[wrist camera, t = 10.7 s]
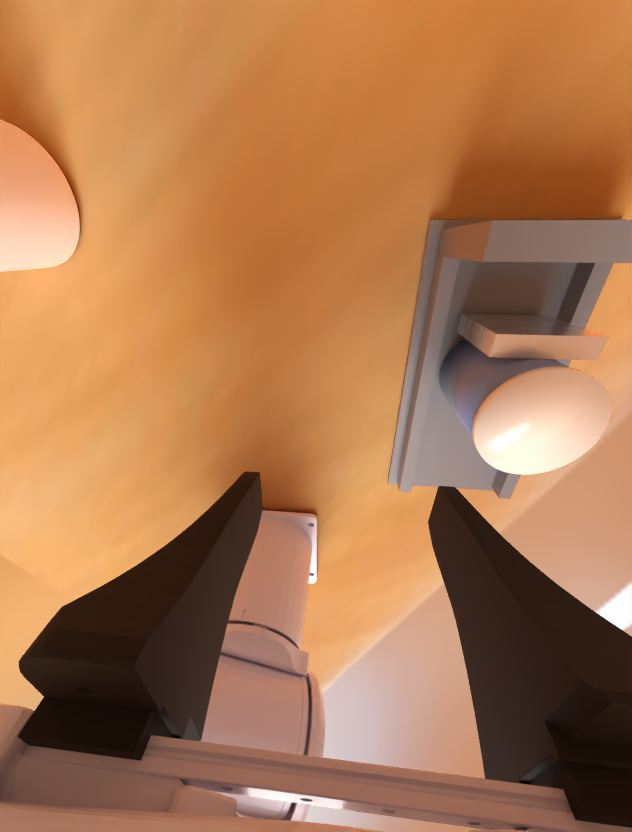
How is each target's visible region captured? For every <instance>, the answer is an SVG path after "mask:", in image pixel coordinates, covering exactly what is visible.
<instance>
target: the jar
mask: <svg viewBox="0 0 632 832" xmlns="http://www.w3.org/2000/svg"><path fill="white" fill-rule="evenodd" d="M439 385H440V389H441V391H442V393H443V395H444V396H445V398H446V399H447V401H448V402H449V404H450V405H451V407H452V408H453V410H454V411H455V413H456V414H457V416H458V417H459V419H460V420H461V422H462V424H463V425H464V427H465V428H466V430H467V431H468V433H469V434H470V436H471V437H472V439H473V442H474V445H475V447H476V449H477V450H478V452H479V453H480V455H481V457H482V458H483V459H484V460H485V461H486V462H487V463H488V464H489V465H491V466H492V467H494V468H496V469H498V470H501V471H503V472H507V473H512V474H522V475H527V474H537V473H543V472H547V471H551V470H554V469H557V468H559V467H562V466H564V465H566V464H568V463H570V462H572V461H574V460H576V459H577V458H579V457H580V456H582V455H583V454H584V453H586V452H587V451H588V450H589V449H590V448H591V447H592V446H593V445H594V444H595V443H596V442H597V441H598V440H599V439H600V437H601V436H602V434H603V433H604V431H605V429H606V427H607V425H608V423H609V420H610V416H611V407H612V405H611V399H610V396H609V393H608V391H607V390H606V388H605V387H604V386H603V385H602V383H601V382H600V381H598V380H597V379H595V378H594V377H592V376H590V375H588V374H587V373H584V372H582V371H580V370H577V369H574V368H570V367H568V366H566V365H564V364H562V363H560V362H558V361H556V360H555V359H533V358H500V357H488V356H487V355H486V354H485V353H483V352H482V351H481V350H479V349H478V348H477V347H476V346H474V345H473V344H472V343H470V342H469V341H468V340H466V339H465V340H463V341H461V342H460V343H459V344H457V345H456V346H455V347H454V348H453V349H452V350H451V351H450V352H449V353H448V355H447V356H446V358H445V359H444V361H443V363H442V365H441V368H440V372H439Z"/></svg>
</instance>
